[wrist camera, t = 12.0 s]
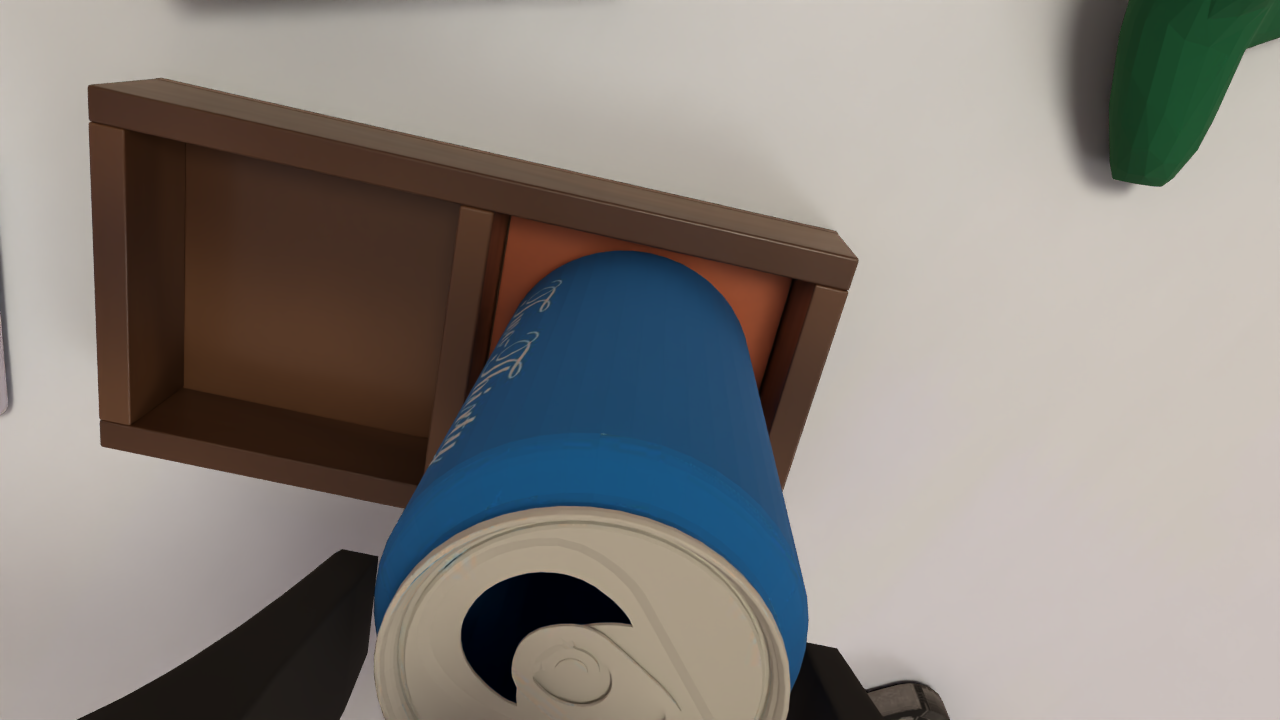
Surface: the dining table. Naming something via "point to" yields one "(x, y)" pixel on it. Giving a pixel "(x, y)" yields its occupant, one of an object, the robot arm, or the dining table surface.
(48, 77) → the dining table surface
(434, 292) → the brown wooden divided tray
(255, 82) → the dining table surface
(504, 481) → the beverage can
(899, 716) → the phone
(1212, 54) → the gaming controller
